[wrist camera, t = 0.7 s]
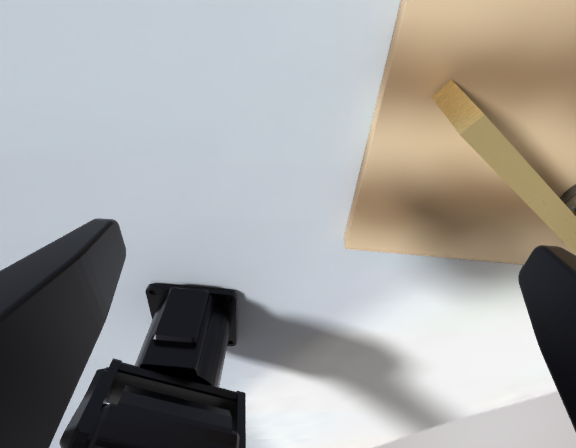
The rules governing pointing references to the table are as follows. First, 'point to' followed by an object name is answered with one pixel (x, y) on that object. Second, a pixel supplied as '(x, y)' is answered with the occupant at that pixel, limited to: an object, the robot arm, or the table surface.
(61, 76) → the table surface
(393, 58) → the oak board
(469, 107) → the olive tan bar
